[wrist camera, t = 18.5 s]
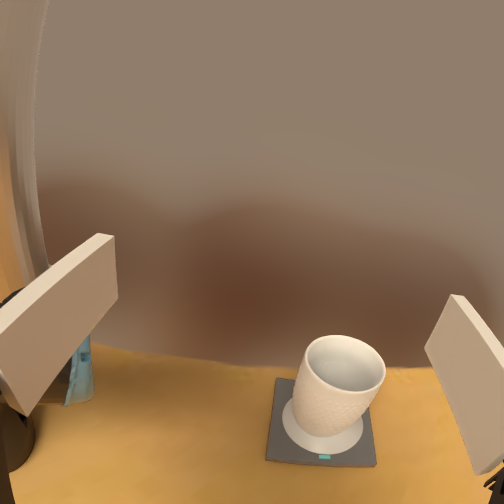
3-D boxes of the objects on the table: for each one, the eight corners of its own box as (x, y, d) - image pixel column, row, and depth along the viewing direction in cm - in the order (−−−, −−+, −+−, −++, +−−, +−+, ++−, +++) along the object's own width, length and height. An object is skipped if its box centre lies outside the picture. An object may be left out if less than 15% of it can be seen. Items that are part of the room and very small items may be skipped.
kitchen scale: (265, 460, 34) (267, 456, 34) (275, 381, 49) (277, 376, 48) (373, 466, 33) (377, 463, 33) (363, 392, 48) (365, 387, 47)
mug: (319, 373, 50) (341, 314, 45) (372, 402, 44) (404, 344, 39) (267, 422, 39) (286, 361, 34) (329, 462, 33) (367, 407, 28)
